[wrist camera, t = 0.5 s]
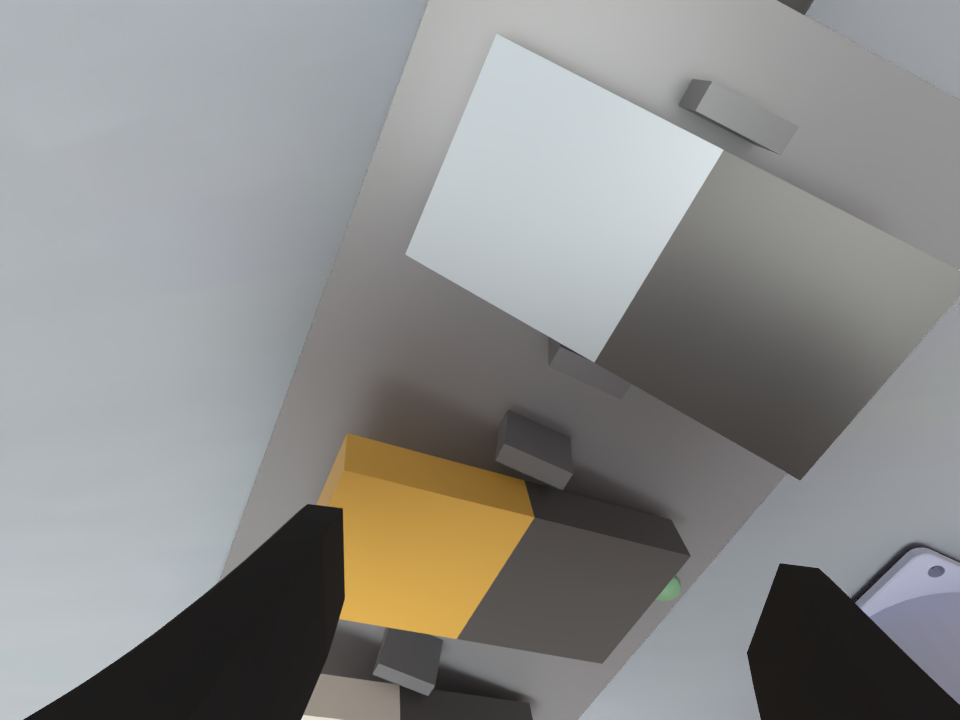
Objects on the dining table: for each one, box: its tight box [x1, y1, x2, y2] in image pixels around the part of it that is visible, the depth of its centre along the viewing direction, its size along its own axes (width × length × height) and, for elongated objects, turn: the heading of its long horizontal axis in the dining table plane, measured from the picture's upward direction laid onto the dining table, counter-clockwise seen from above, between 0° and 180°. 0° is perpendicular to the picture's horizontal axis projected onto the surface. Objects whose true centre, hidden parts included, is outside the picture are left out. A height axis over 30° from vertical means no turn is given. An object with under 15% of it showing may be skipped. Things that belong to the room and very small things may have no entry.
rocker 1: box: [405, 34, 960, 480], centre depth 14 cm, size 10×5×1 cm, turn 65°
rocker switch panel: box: [219, 0, 960, 720], centre depth 19 cm, size 14×35×4 cm, turn 155°
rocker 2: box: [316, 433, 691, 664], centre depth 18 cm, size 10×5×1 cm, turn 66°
